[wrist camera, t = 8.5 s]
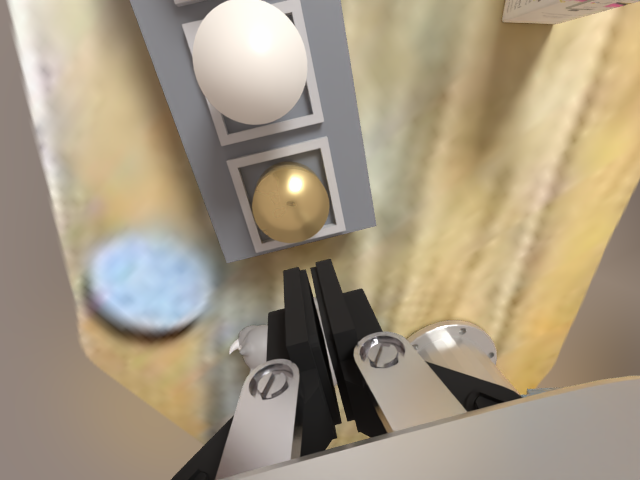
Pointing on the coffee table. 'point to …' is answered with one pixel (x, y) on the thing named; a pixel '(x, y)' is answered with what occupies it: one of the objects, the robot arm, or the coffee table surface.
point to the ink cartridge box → (555, 10)
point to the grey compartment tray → (265, 139)
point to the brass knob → (290, 202)
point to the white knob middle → (250, 61)
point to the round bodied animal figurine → (262, 345)
